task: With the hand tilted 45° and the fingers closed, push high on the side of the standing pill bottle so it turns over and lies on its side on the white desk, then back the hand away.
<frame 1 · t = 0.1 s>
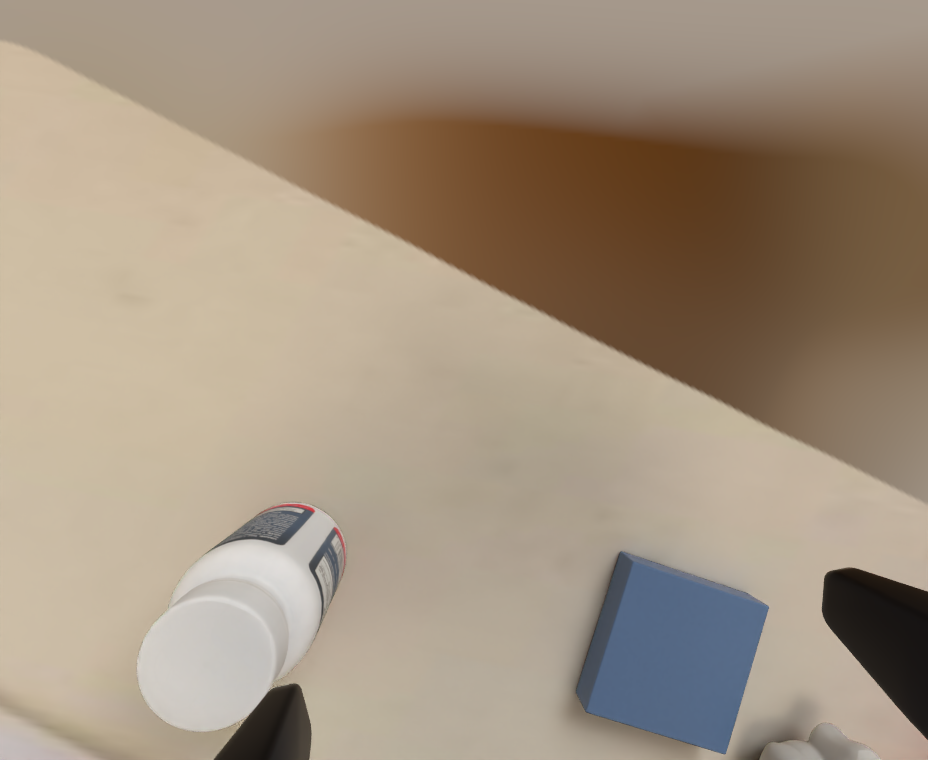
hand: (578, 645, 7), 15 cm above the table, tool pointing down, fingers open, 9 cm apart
pill bottle: (295, 552, 22), on the table
sticky note pad: (663, 641, 23), on the table
rubber duck: (780, 753, 24), on the table
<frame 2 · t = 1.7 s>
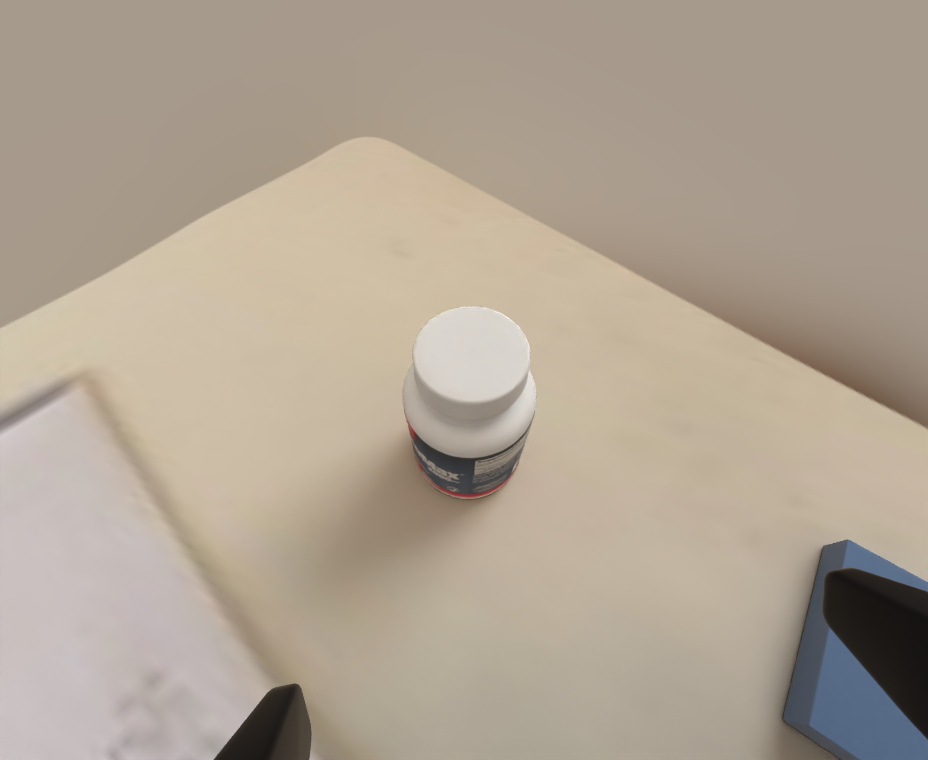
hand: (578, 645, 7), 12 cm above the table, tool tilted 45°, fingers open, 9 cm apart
pill bottle: (467, 451, 22), on the table
sticky note pad: (906, 687, 17), on the table
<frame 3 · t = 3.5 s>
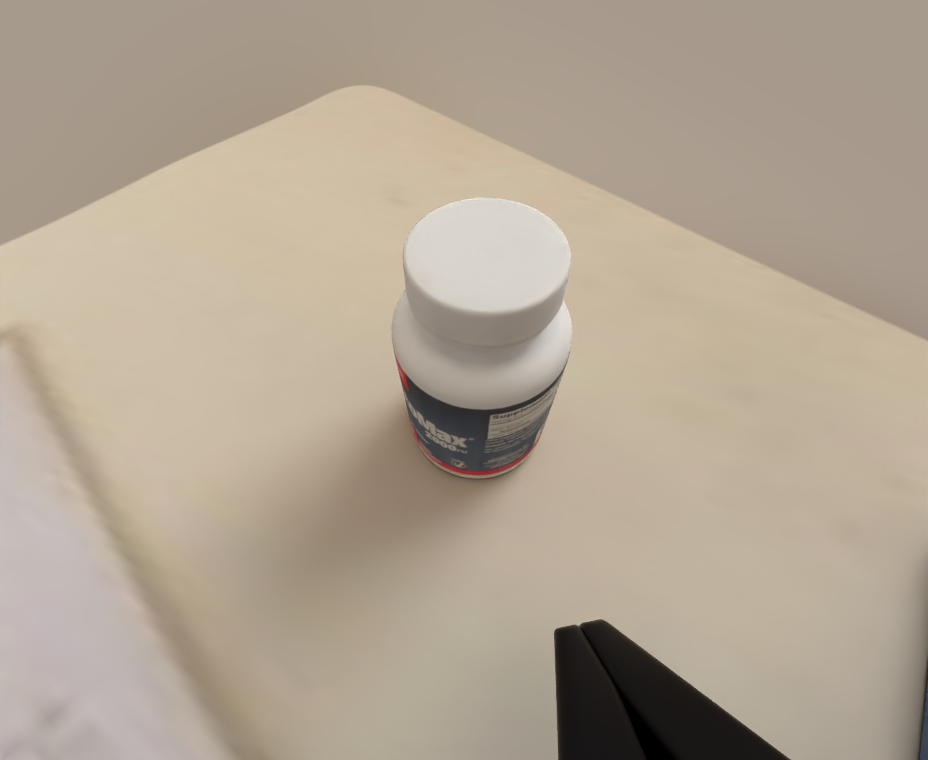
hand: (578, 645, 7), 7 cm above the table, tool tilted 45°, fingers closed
pill bottle: (476, 421, 18), on the table
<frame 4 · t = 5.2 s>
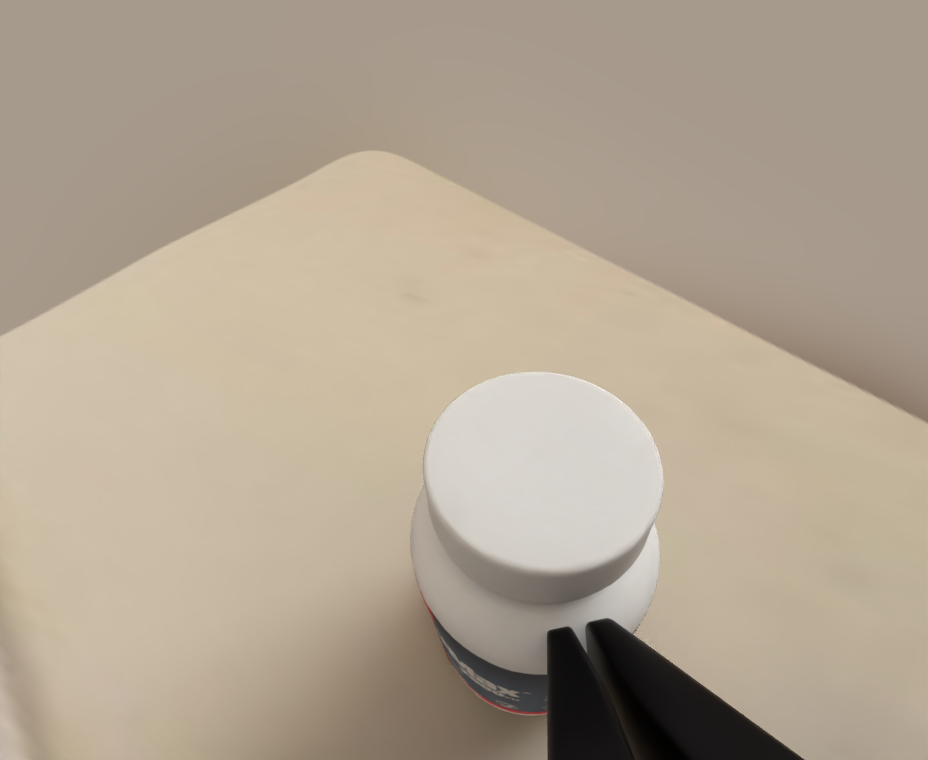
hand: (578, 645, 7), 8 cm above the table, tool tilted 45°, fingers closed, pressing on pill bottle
pill bottle: (522, 616, 14), on the table, touching gripper
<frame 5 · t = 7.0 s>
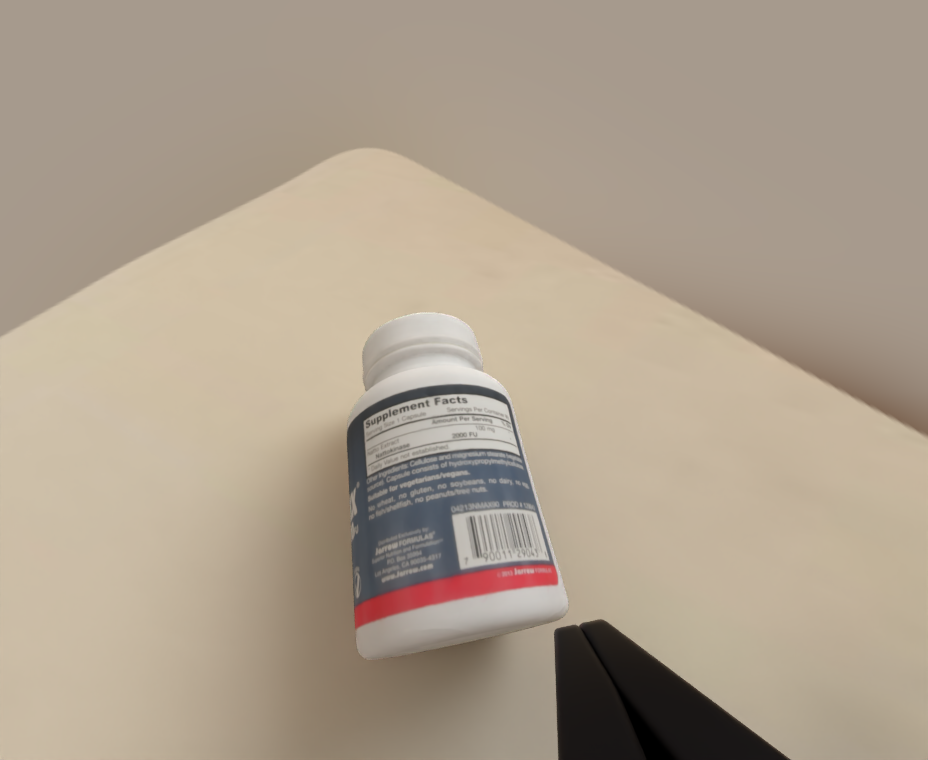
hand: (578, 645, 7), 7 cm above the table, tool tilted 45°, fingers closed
pill bottle: (468, 650, 10), point 3 cm above the table
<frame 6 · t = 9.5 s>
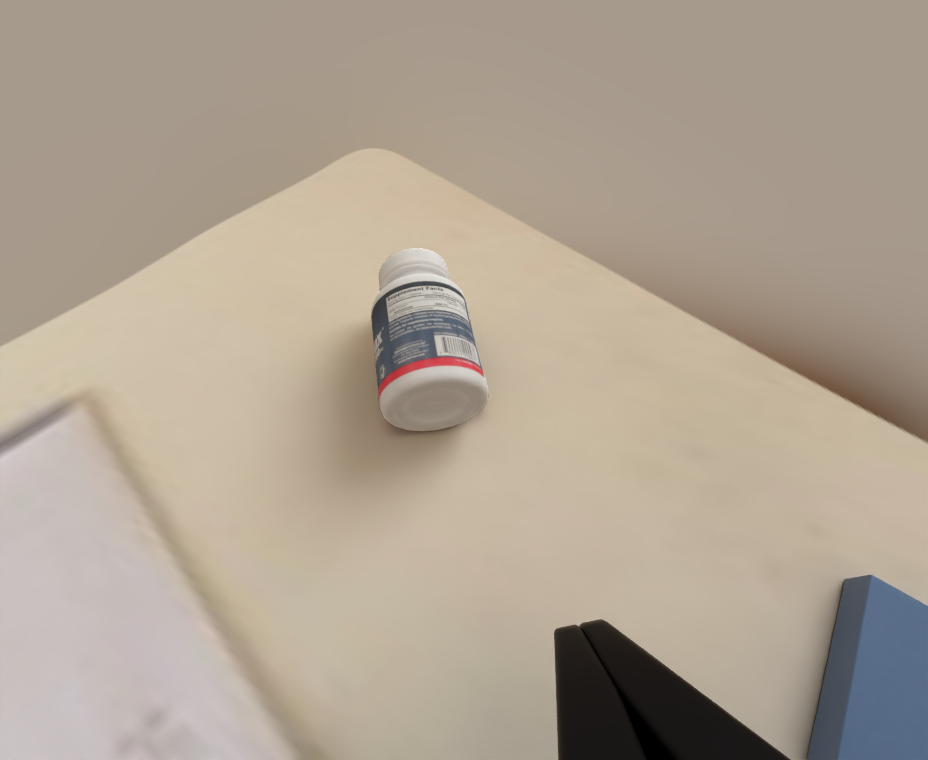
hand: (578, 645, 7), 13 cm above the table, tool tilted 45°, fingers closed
pill bottle: (436, 412, 20), point 3 cm above the table
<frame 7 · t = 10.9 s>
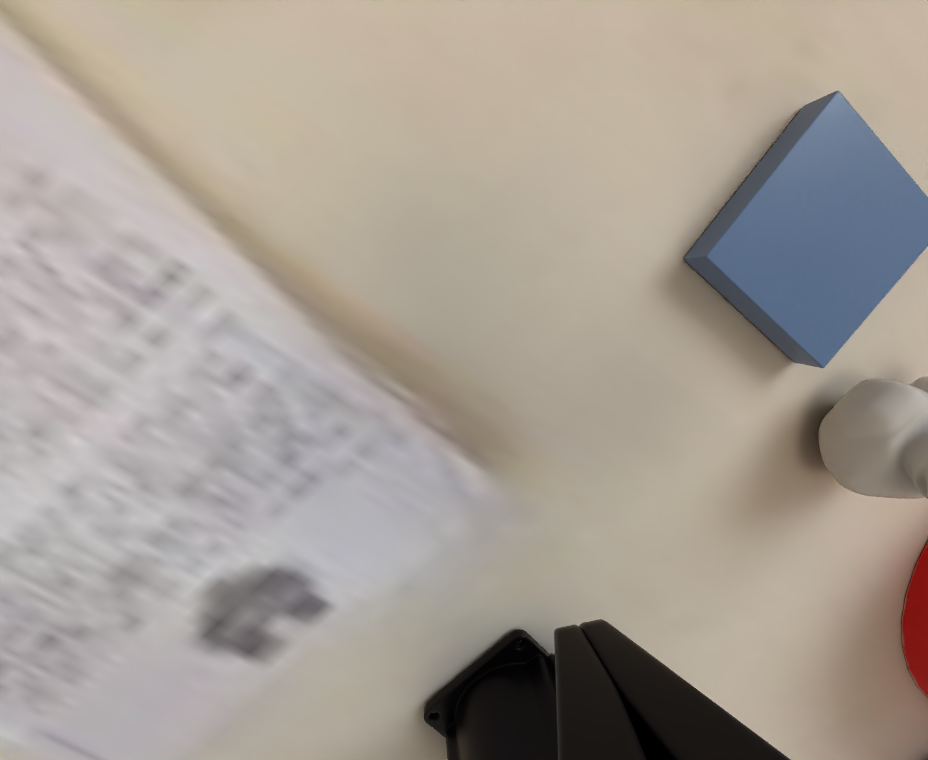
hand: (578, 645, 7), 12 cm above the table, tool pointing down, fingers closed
sticky note pad: (798, 242, 19), on the table
rubber duck: (848, 416, 21), on the table
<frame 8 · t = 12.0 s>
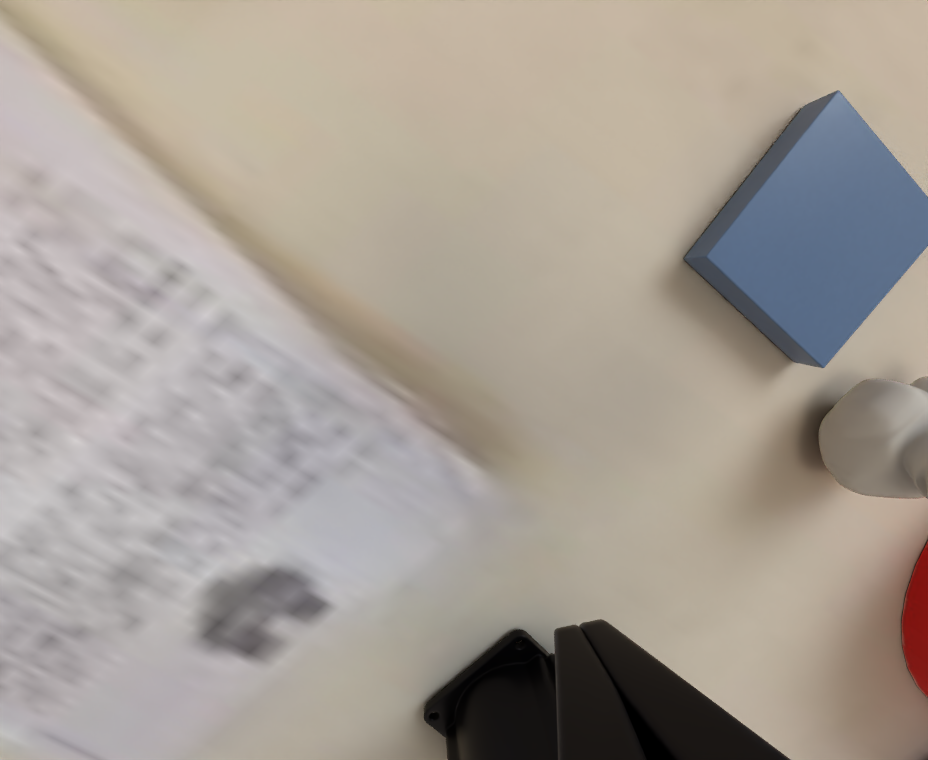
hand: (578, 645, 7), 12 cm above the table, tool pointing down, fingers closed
sticky note pad: (798, 242, 19), on the table
rubber duck: (848, 416, 21), on the table
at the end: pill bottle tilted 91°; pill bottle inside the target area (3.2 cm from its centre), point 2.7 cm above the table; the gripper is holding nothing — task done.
